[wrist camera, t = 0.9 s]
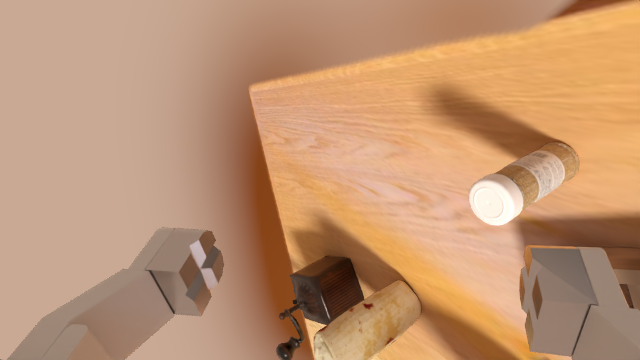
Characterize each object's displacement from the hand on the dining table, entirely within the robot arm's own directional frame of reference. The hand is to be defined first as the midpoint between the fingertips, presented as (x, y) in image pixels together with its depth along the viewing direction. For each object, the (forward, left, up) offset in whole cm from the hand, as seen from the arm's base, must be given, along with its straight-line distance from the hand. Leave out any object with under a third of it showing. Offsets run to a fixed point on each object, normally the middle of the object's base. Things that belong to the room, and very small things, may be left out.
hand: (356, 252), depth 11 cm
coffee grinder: (+66, +28, -40) cm, 82 cm away
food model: (+47, +28, -40) cm, 68 cm away
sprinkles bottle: (+15, +7, -40) cm, 43 cm away
